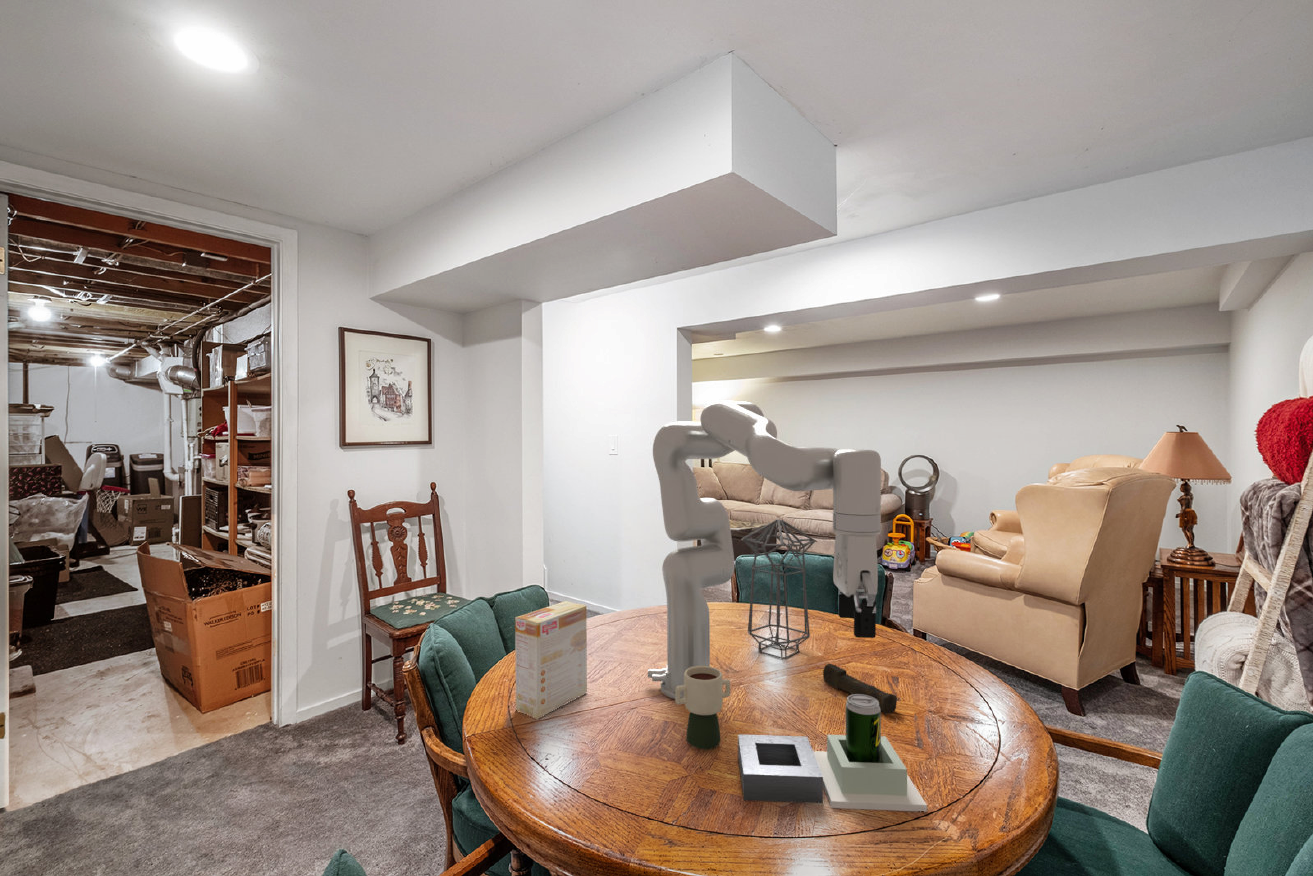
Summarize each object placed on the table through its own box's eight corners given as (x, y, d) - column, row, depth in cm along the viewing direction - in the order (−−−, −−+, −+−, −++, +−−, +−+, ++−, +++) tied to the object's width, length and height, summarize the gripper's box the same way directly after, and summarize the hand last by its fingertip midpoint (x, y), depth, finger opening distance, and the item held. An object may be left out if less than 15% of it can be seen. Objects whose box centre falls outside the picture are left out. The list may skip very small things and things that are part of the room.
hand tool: (898, 713, 116) (898, 690, 116) (884, 717, 114) (884, 694, 114) (832, 679, 133) (832, 659, 133) (819, 682, 131) (819, 662, 131)
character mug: (722, 730, 108) (722, 662, 108) (739, 749, 101) (738, 676, 102) (668, 739, 105) (668, 669, 105) (682, 759, 98) (682, 684, 98)
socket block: (743, 800, 87) (743, 774, 87) (738, 757, 99) (737, 734, 99) (823, 803, 86) (822, 777, 86) (807, 759, 98) (807, 736, 98)
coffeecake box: (565, 686, 129) (565, 600, 129) (588, 693, 124) (588, 605, 125) (513, 711, 116) (513, 616, 117) (537, 720, 112) (537, 622, 112)
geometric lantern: (737, 650, 150) (737, 519, 152) (772, 638, 161) (772, 515, 162) (787, 667, 139) (786, 524, 140) (821, 652, 149) (820, 520, 151)
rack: (831, 808, 85) (831, 774, 85) (812, 756, 99) (812, 728, 99) (927, 812, 84) (926, 778, 84) (894, 759, 98) (893, 730, 98)
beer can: (846, 781, 90) (845, 705, 90) (845, 763, 95) (845, 691, 95) (882, 787, 88) (881, 710, 88) (880, 769, 93) (879, 696, 94)
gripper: (822, 516, 102) (821, 610, 102) (846, 531, 85) (846, 645, 85) (864, 517, 102) (863, 611, 102) (898, 532, 85) (897, 646, 84)
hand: (856, 626), depth 93 cm, fingers open, 9 cm apart
